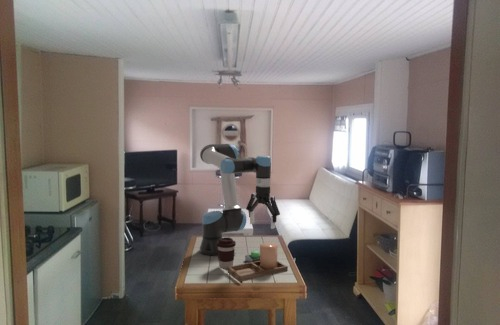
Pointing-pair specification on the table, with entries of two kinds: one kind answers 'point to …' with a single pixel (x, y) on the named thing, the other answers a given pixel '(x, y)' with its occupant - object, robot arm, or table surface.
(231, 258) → the coffee cup
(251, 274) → the divided tray
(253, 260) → the grey square frame
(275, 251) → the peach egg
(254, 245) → the table surface
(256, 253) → the button
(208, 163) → the robot arm
